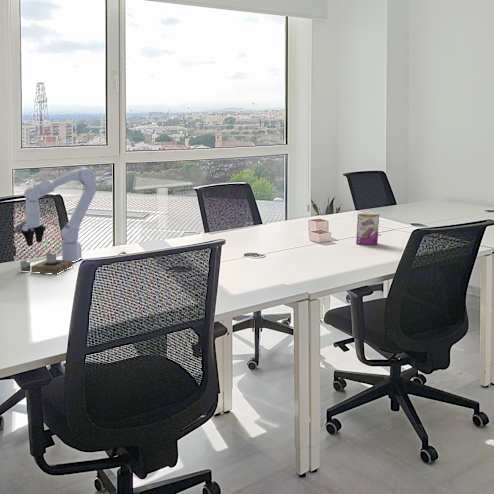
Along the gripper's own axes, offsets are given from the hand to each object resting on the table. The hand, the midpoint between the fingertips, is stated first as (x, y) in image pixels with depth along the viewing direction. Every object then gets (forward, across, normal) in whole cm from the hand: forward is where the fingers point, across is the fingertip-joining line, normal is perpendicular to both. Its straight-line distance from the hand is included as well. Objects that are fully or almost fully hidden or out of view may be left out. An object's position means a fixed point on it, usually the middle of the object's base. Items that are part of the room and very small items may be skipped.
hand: (34, 244), depth 308 cm
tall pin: (+9, +8, +13) cm, 18 cm away
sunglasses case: (+10, -13, +36) cm, 39 cm away
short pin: (+10, +13, +3) cm, 16 cm away
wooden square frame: (+9, +8, +13) cm, 18 cm away
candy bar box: (+10, -90, +142) cm, 168 cm away
